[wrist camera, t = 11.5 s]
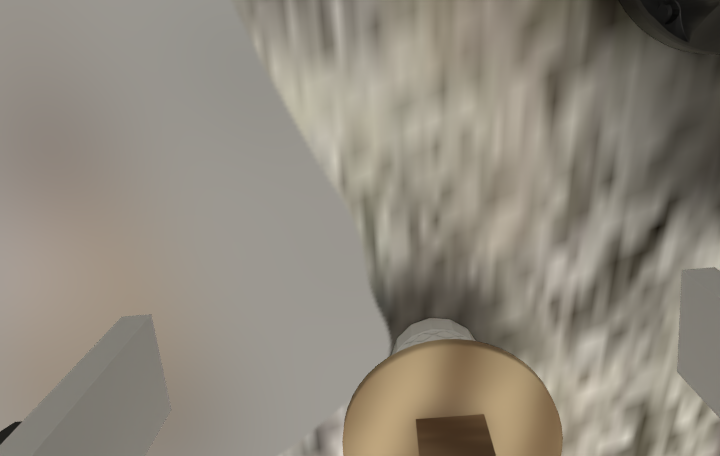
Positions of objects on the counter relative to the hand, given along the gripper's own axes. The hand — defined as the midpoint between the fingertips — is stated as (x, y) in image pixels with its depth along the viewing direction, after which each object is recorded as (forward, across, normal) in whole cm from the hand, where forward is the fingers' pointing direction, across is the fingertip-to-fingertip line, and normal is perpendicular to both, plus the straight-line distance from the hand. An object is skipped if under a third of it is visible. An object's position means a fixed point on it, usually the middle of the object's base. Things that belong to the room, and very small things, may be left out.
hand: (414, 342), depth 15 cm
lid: (+19, +2, -16) cm, 25 cm away
